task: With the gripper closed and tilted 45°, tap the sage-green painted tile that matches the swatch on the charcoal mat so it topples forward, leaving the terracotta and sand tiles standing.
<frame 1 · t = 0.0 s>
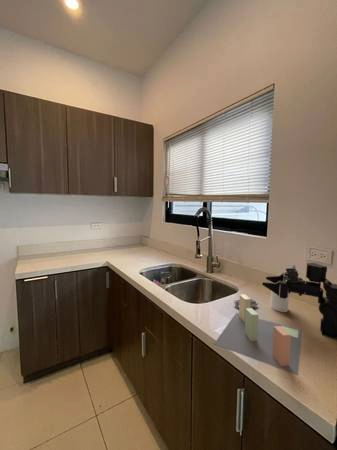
hand: (264, 280, 99), 17 cm above the worktop, tool horizontal, fingers open, 9 cm apart
sand tile: (244, 318, 97), point 1 cm above the worktop, touching mat
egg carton: (245, 308, 109), on the worktop
sage tile: (250, 336, 83), point 1 cm above the worktop, touching mat
mat: (260, 338, 83), on the worktop
terracotta tile: (280, 360, 71), point 1 cm above the worktop, touching mat
pill bottle: (278, 309, 108), on the worktop
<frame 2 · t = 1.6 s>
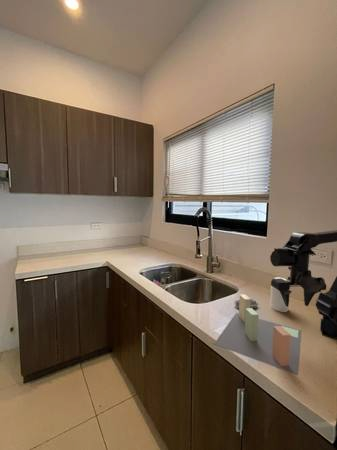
hand: (296, 305, 84), 12 cm above the worktop, tool pointing down, fingers open, 8 cm apart
nothing on the worktop moved.
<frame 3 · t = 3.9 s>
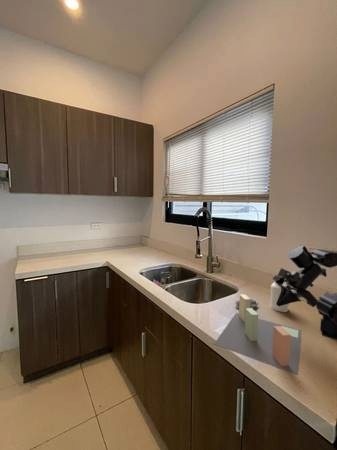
hand: (277, 305, 83), 13 cm above the worktop, tool tilted 45°, fingers closed
nothing on the worktop moved.
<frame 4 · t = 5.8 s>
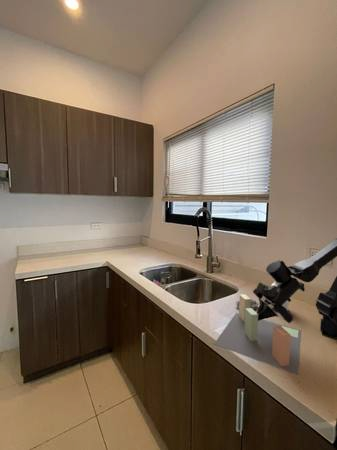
hand: (255, 319, 83), 7 cm above the worktop, tool tilted 45°, fingers closed, pressing on sage tile
sage tile: (250, 336, 83), point 1 cm above the worktop, touching gripper, mat
everything else where it was.
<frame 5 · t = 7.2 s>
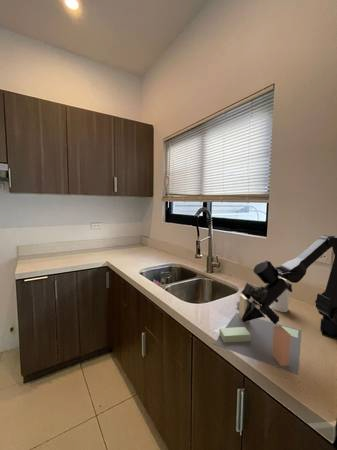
hand: (242, 320, 82), 7 cm above the worktop, tool tilted 45°, fingers closed
sage tile: (247, 333, 83), point 2 cm above the worktop, tilted 90°, touching mat
everything else where it was.
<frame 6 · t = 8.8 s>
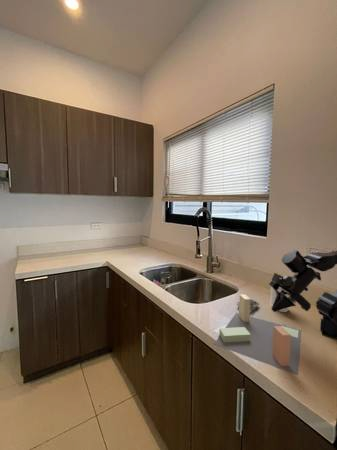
hand: (272, 310, 83), 10 cm above the worktop, tool tilted 45°, fingers closed
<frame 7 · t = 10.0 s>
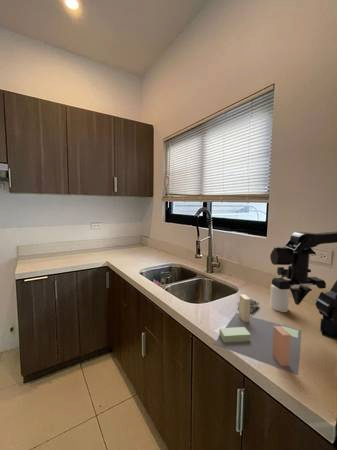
hand: (296, 304, 86), 12 cm above the worktop, tool pointing down, fingers closed
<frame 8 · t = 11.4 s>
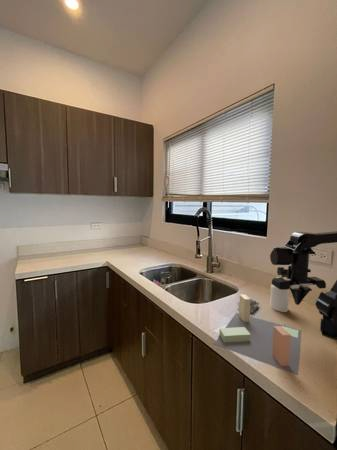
hand: (297, 304, 86), 12 cm above the worktop, tool pointing down, fingers closed
at the end: sage tile tilted 90°; terracotta tile moved 0.0 cm from its start; sand tile moved 0.0 cm from its start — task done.
